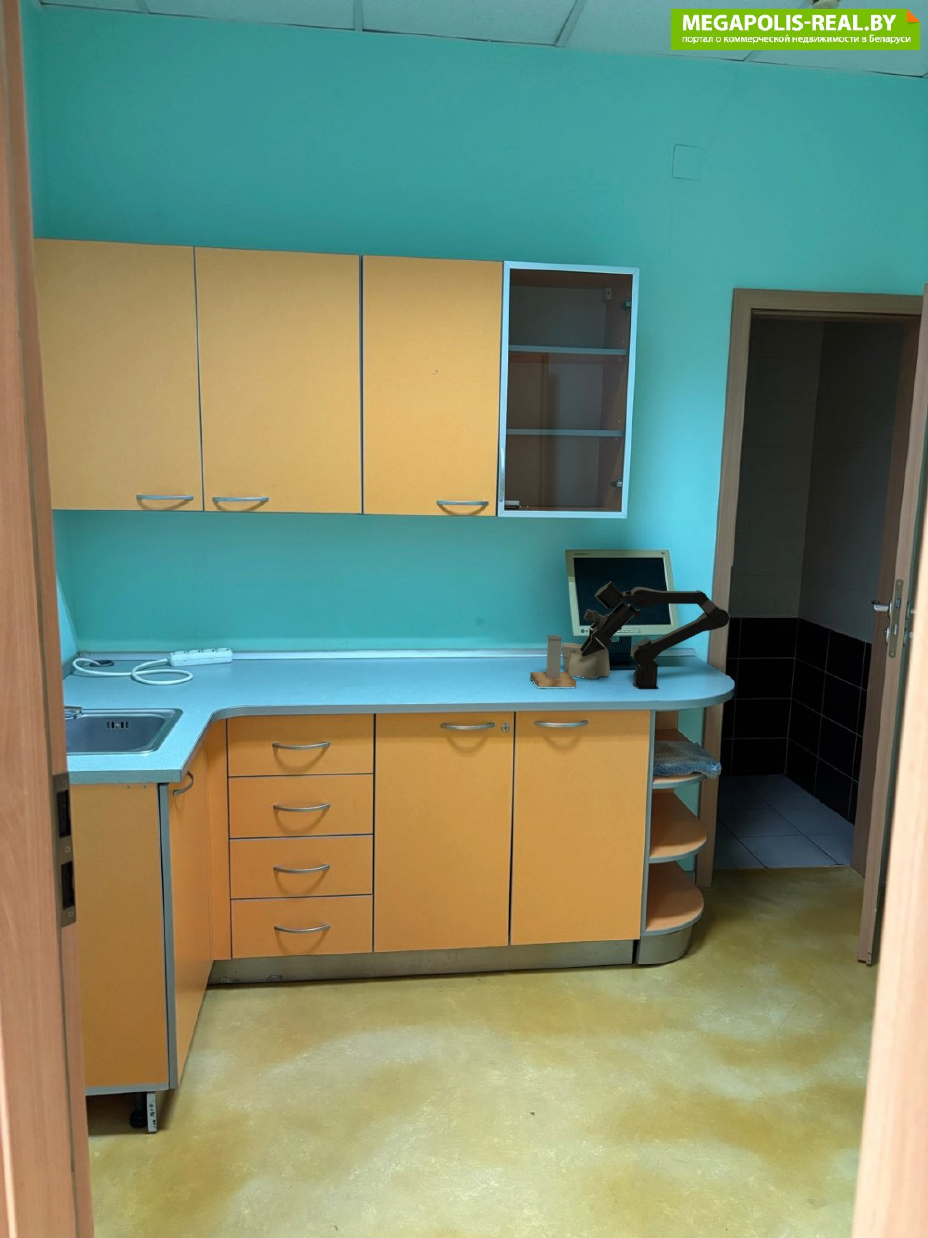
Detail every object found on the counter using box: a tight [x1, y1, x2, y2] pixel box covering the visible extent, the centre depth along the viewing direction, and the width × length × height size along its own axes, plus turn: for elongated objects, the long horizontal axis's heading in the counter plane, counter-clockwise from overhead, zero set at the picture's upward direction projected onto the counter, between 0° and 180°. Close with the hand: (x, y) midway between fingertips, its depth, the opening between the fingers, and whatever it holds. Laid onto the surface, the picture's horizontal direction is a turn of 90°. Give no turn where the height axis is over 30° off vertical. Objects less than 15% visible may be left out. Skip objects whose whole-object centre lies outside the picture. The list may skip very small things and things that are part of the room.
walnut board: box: [529, 671, 577, 688], centre depth 297 cm, size 12×12×2 cm
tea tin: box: [545, 634, 563, 678], centre depth 295 cm, size 4×5×13 cm
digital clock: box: [561, 642, 611, 680], centre depth 309 cm, size 16×9×11 cm, turn 52°
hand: (581, 653), depth 295 cm, fingers open, 9 cm apart
